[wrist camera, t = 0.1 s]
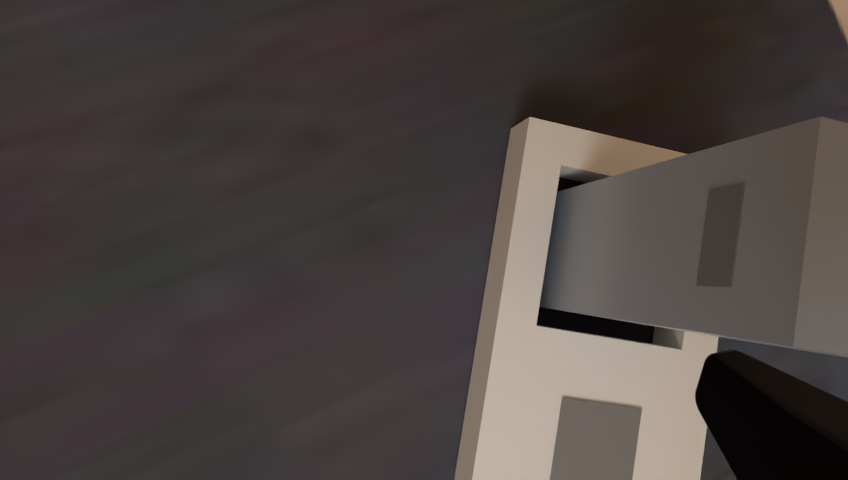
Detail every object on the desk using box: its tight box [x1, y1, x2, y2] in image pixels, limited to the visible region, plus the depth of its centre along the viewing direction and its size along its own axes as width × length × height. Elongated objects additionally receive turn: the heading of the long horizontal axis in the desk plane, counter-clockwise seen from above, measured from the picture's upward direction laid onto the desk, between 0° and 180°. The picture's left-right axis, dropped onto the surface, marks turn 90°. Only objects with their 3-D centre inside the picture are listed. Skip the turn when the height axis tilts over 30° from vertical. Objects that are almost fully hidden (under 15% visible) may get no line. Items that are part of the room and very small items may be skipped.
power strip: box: [454, 117, 719, 480], centre depth 23 cm, size 22×9×3 cm, turn 170°
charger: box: [539, 116, 848, 358], centre depth 19 cm, size 5×5×13 cm
